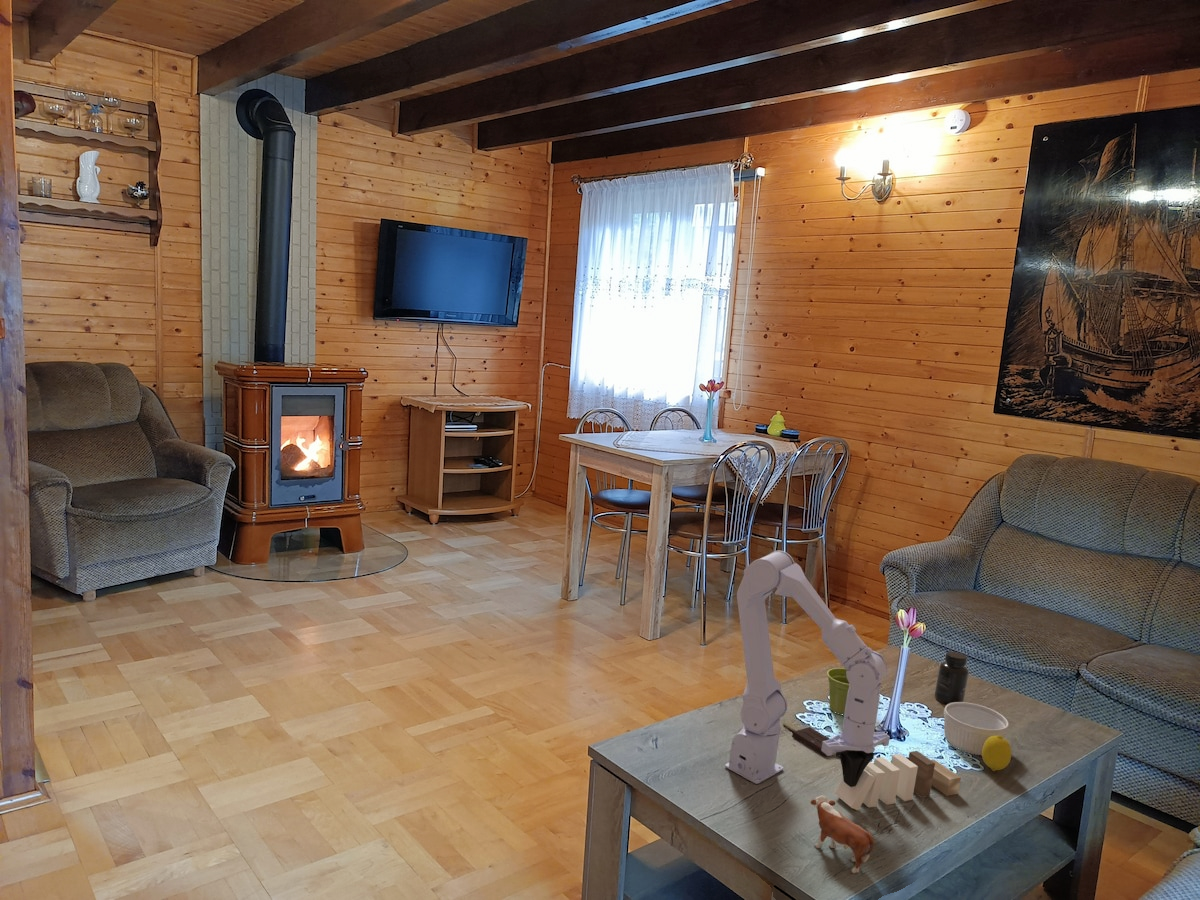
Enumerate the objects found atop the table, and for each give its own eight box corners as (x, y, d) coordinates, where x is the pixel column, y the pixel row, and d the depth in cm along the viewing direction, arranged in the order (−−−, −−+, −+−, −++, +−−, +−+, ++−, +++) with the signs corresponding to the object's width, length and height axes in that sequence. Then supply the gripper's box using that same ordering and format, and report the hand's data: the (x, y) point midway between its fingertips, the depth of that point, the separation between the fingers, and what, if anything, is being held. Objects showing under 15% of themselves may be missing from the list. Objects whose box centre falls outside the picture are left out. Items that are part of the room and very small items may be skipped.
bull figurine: (815, 828, 156) (821, 787, 154) (874, 873, 145) (882, 829, 143) (797, 835, 153) (804, 792, 152) (856, 880, 142) (864, 835, 141)
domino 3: (886, 804, 166) (892, 771, 165) (869, 791, 170) (874, 758, 169) (894, 803, 167) (900, 769, 165) (877, 789, 171) (882, 756, 170)
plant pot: (815, 710, 203) (821, 675, 201) (830, 697, 211) (835, 664, 209) (855, 724, 198) (860, 689, 196) (868, 710, 205) (873, 676, 204)
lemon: (1005, 780, 179) (1012, 745, 178) (977, 771, 182) (983, 735, 180) (1009, 769, 184) (1015, 735, 182) (981, 760, 186) (987, 726, 185)
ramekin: (942, 751, 189) (948, 721, 188) (936, 724, 202) (941, 696, 201) (1008, 765, 186) (1013, 735, 185) (997, 737, 198) (1003, 708, 197)
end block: (946, 795, 171) (949, 779, 170) (920, 777, 177) (923, 761, 177) (958, 793, 172) (960, 777, 172) (931, 774, 178) (934, 759, 178)
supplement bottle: (967, 708, 212) (976, 662, 210) (940, 705, 212) (948, 659, 210) (956, 695, 219) (964, 650, 217) (930, 692, 219) (937, 648, 217)
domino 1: (851, 807, 162) (869, 774, 162) (834, 793, 166) (852, 761, 166) (858, 810, 163) (876, 777, 163) (841, 796, 167) (858, 764, 167)
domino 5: (921, 797, 170) (927, 764, 168) (904, 784, 174) (909, 752, 173) (929, 795, 170) (935, 763, 169) (911, 782, 175) (917, 750, 173)
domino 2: (868, 807, 164) (877, 773, 163) (851, 793, 168) (859, 760, 167) (876, 806, 165) (885, 772, 164) (859, 793, 169) (867, 759, 168)
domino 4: (904, 801, 168) (910, 767, 166) (886, 787, 172) (892, 755, 171) (912, 799, 169) (917, 766, 167) (894, 786, 173) (899, 753, 172)
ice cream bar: (775, 728, 193) (827, 760, 181) (776, 721, 193) (828, 753, 181) (792, 723, 196) (844, 754, 184) (793, 716, 196) (845, 747, 184)
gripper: (843, 732, 155) (833, 801, 157) (905, 722, 161) (894, 789, 163) (818, 713, 161) (808, 780, 164) (878, 705, 167) (868, 769, 170)
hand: (849, 783), depth 164 cm, fingers closed
